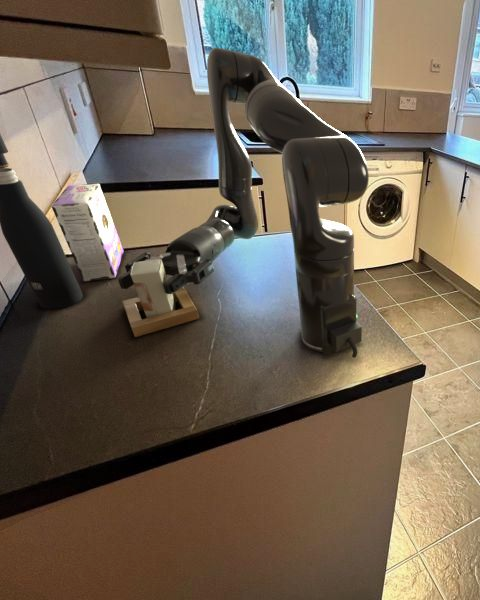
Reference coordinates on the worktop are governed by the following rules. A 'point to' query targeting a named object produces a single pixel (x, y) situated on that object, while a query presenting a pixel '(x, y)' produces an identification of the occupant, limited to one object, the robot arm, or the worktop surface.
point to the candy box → (89, 231)
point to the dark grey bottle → (34, 243)
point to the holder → (161, 320)
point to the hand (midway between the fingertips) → (143, 286)
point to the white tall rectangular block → (152, 287)
